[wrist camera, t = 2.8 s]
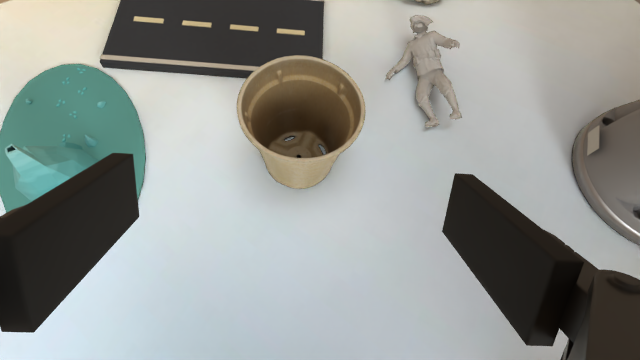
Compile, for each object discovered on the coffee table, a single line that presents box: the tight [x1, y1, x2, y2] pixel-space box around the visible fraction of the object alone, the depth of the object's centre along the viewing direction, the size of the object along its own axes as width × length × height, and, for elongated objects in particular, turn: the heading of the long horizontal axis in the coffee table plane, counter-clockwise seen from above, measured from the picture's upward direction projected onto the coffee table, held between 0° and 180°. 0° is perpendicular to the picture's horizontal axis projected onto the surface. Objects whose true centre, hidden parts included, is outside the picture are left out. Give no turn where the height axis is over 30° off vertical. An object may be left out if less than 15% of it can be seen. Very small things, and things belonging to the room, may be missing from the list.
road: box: [100, 0, 324, 78], centre depth 40 cm, size 22×12×1 cm, turn 89°
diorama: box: [0, 64, 146, 213], centre depth 30 cm, size 12×20×9 cm, turn 20°
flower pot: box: [237, 55, 365, 189], centre depth 31 cm, size 9×9×9 cm
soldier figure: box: [386, 15, 462, 127], centre depth 38 cm, size 8×5×12 cm
